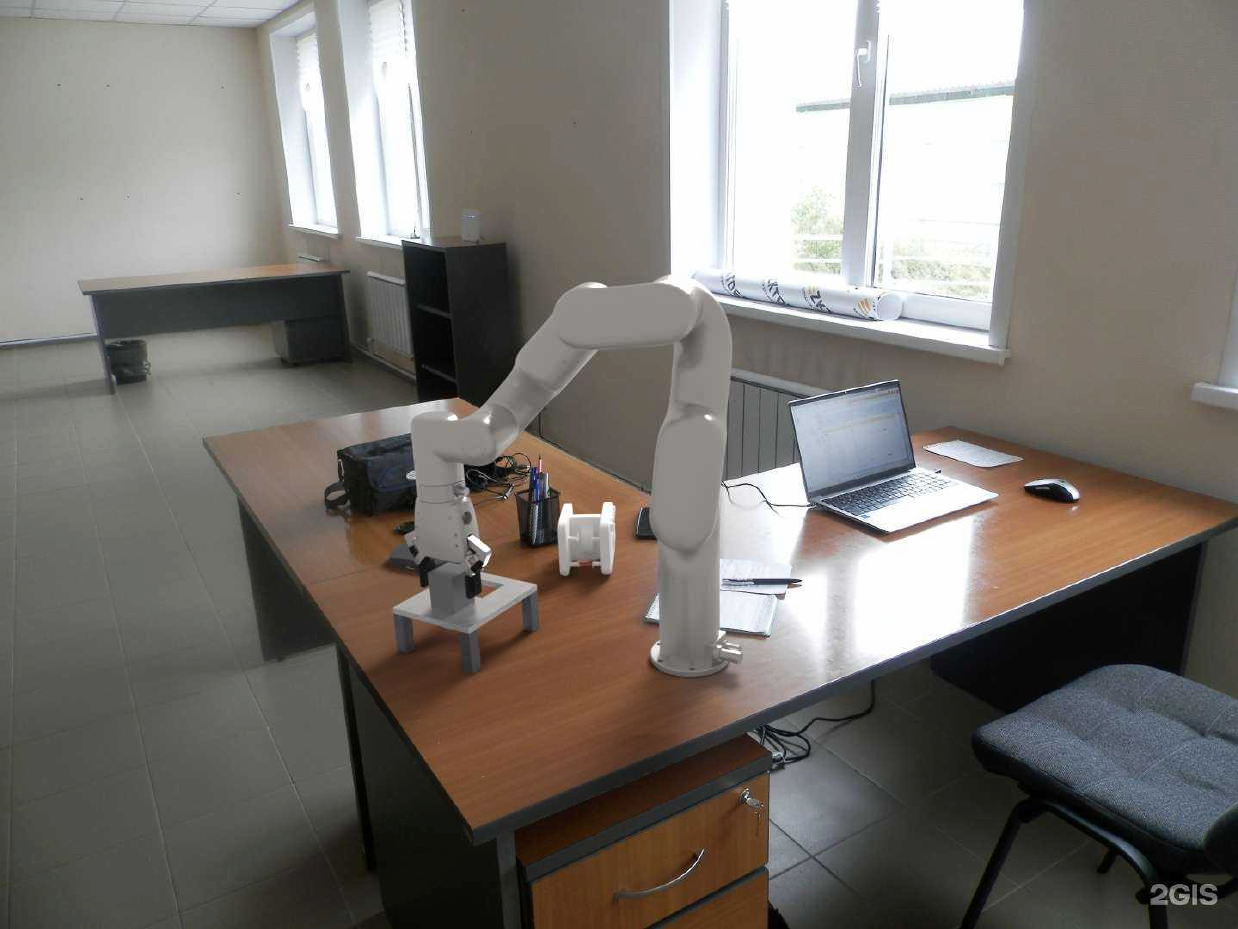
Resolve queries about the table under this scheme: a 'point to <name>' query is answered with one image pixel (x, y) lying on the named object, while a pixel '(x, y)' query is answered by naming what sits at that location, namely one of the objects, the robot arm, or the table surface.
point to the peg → (448, 588)
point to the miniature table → (467, 615)
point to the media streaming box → (409, 558)
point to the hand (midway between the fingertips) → (451, 590)
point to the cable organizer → (586, 538)
